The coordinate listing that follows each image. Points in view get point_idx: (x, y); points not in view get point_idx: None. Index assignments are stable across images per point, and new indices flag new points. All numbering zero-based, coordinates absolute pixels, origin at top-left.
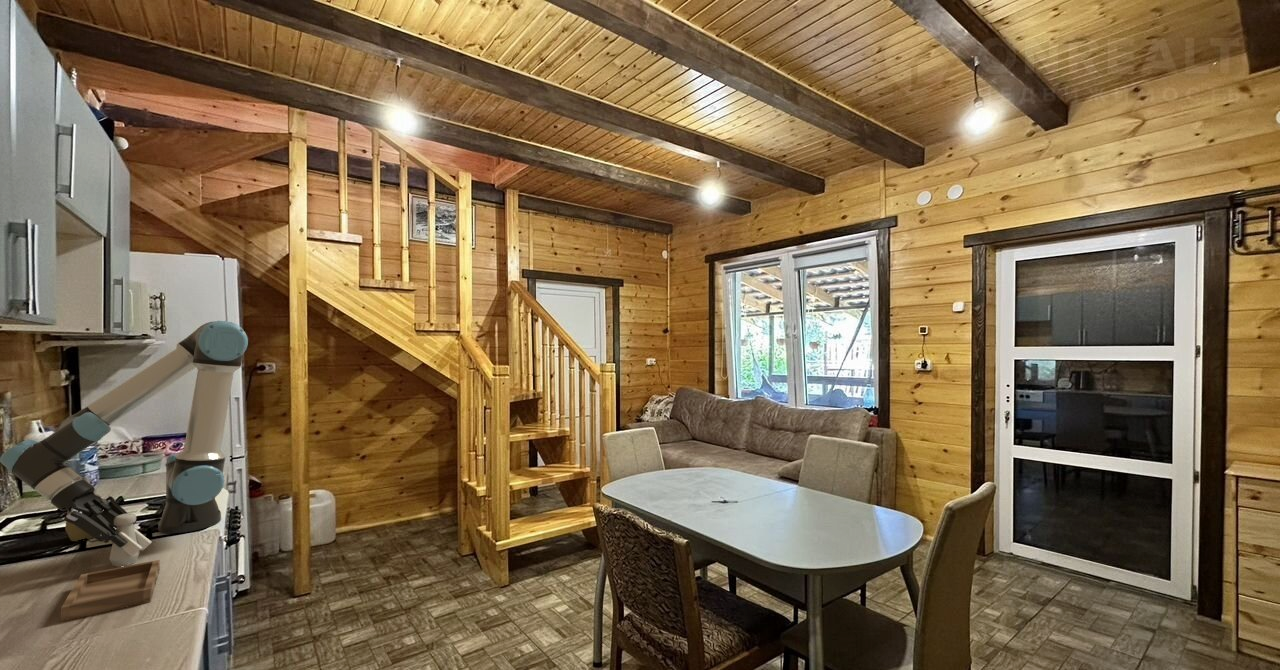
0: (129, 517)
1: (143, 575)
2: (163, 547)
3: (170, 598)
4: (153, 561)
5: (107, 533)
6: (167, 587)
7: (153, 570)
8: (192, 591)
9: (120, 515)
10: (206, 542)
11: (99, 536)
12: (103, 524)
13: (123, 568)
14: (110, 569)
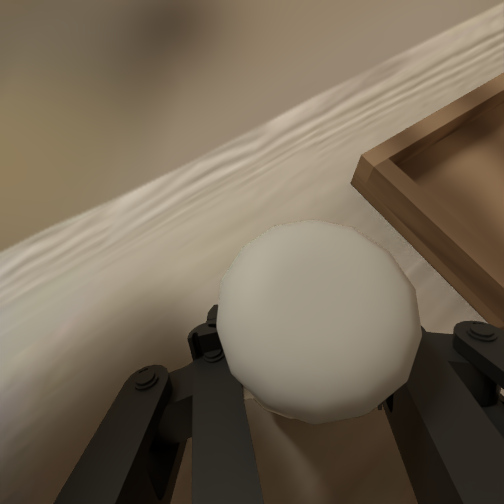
0: (346, 228)
1: (418, 175)
2: (119, 332)
3: (494, 58)
4: (378, 162)
5: (492, 329)
6: (444, 98)
7: (447, 112)
8: (450, 43)
9: (352, 337)
10: (105, 209)
11: (490, 412)
12: (499, 445)
13: (452, 216)
14: (477, 254)
